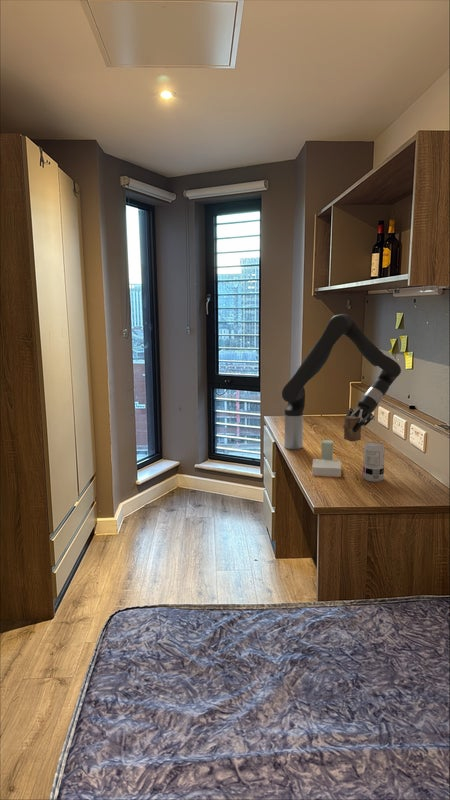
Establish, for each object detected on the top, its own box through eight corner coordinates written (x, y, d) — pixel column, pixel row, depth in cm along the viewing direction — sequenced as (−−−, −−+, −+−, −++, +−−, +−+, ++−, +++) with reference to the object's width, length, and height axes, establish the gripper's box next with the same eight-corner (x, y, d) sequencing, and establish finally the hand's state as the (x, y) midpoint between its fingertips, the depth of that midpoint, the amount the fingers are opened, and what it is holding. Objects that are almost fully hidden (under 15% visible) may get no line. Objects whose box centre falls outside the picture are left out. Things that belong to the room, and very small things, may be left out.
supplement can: (358, 477, 211) (360, 442, 208) (375, 474, 214) (376, 440, 211) (370, 483, 204) (372, 447, 201) (387, 480, 206) (389, 445, 204)
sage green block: (321, 460, 235) (321, 440, 233) (332, 461, 234) (332, 440, 232) (321, 464, 230) (321, 442, 228) (332, 464, 229) (332, 443, 227)
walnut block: (344, 439, 222) (344, 416, 220) (352, 437, 224) (353, 415, 222) (351, 441, 217) (352, 419, 216) (360, 440, 220) (361, 417, 218)
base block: (313, 467, 226) (313, 459, 226) (340, 468, 224) (340, 460, 223) (312, 476, 215) (312, 467, 214) (340, 477, 212) (341, 468, 212)
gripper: (355, 392, 227) (333, 421, 223) (378, 397, 214) (356, 428, 211) (363, 402, 230) (342, 431, 227) (387, 407, 218) (365, 438, 214)
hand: (349, 429), depth 219 cm, fingers closed on walnut block, 5 cm apart
